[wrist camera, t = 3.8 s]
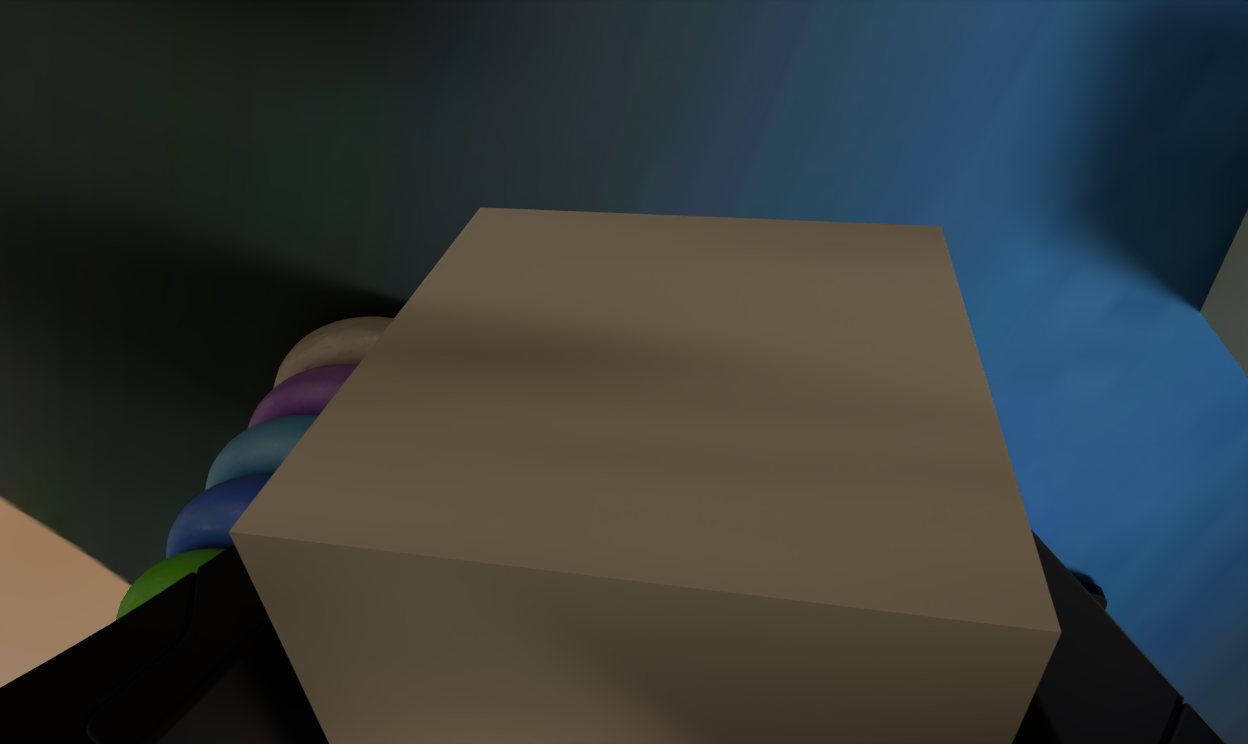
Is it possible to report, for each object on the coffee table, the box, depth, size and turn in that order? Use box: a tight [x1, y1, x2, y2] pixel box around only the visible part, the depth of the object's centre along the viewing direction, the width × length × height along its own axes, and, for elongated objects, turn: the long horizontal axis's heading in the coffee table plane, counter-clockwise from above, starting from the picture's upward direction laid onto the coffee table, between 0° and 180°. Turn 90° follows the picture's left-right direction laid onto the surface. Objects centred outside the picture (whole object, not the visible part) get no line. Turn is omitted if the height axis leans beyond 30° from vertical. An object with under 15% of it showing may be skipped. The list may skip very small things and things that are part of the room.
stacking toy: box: [116, 317, 394, 620], centre depth 18 cm, size 8×8×19 cm
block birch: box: [229, 208, 1061, 744], centre depth 8 cm, size 5×5×5 cm
